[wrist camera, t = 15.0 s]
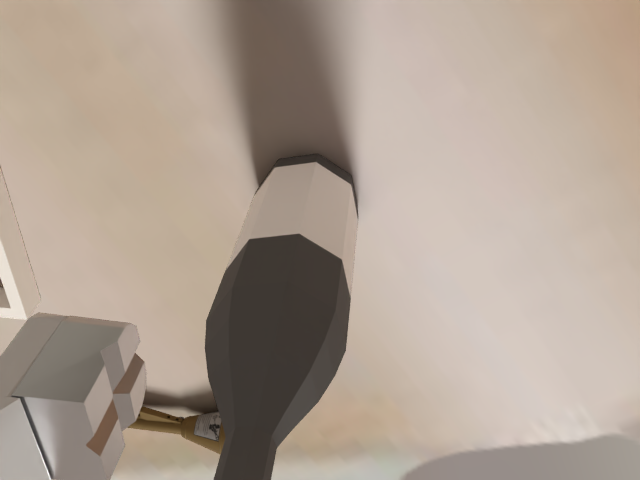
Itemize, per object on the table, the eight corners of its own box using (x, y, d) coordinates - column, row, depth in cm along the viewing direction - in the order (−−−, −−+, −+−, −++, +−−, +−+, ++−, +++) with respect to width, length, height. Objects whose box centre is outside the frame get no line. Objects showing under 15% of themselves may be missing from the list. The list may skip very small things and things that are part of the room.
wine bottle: (371, 164, 44) (341, 589, 20) (347, 250, 49) (299, 680, 24) (264, 140, 44) (99, 539, 19) (250, 228, 49) (103, 640, 24)
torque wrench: (-34, 397, 68) (-46, 366, 66) (264, 434, 64) (262, 402, 61) (-63, 429, 64) (-78, 397, 62) (253, 471, 60) (251, 438, 57)
